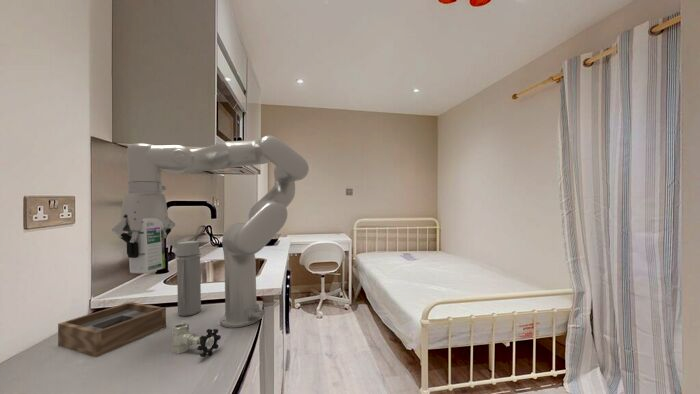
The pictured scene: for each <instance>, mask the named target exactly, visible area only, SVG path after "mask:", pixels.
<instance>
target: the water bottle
mask: <svg viewBox="0 0 700 394" xmlns="http://www.w3.org/2000/svg"><path fill="white" fill-rule="evenodd" d="M175 255H176V256H175V260H176V264H177V265H176V272H177V274H176V275H177V277H176V278H177V279H176V280H177V282H176V283H177V314H178V316H180V317H188V316H190V317H191V316H193V315H196V314H198V313H199V312H201V309H202V295H201V294H202V289H201V288H202V287H201V280H202V279H201V255H202V254H201V251H200V243H199V241H198V240H189V241H180V242H177V245H176V254H175Z"/></svg>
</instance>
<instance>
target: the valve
mask: <svg viewBox="0 0 700 394" xmlns="http://www.w3.org/2000/svg"><path fill="white" fill-rule="evenodd" d="M171 330H172V331H171V332H172V333H171V334H172V335H171V338H170V339H171V344H172V354H174V353H175V354H176V355H180V354H183V353H186V352H187V351H189V349H190V347H191V346H193V345H198V346H197V348H196V350H197V351H199V352H200V351H201V353H200V354H199V357H201V358H206V356H207V357H212V356H213V354H214V352H213V351H214V350H218V348H219V344H217V343H218V341H221V338H222V337H221V335H220V334H218V333H219V329H218V328H213V329H212V328H207V329H206V331H205V332H206V333H207V334H206V335H201V336H197V335H196V333H194V332H190V331H189V330H190V323H189V322H179V323H177V324H175V325H173V326H172V329H171ZM208 347H209V348H208ZM182 352H183V353H182Z"/></svg>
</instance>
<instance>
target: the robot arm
mask: <svg viewBox="0 0 700 394" xmlns="http://www.w3.org/2000/svg"><path fill="white" fill-rule="evenodd" d="M126 153H127V154H126V158H127V159H126V160H127V188H128V189H127V192H128V193H127V194H124V195H123V199H122V204H121V210H120V220H119V222H118V223H117V224H116V225H114V227H113V228H111V232H112V233H113V234H115V235H116V236H118V238H119V239H121V240H122V241H123V242H124V243H126V255H127V257H128V259H129V258H137V257H138V243H137V242H136V238H137V236H138V234H139V231H141V230H142V220H143V219H146V218H157V219H159V220H160V221H162V223H163V230H164V253H166V239H167V238H168V236H169V234H170V233H171V232H172V230H173V229H174V228H175V226H176V223H175V222H174V221H173V220H171V218H169V212H168V206H167V200H166V197H165V194H163V192H164V191H166V189H167V187H166V186H165V185H163V182H162V180H163V179H162V170H163V171H164V172H166V173H168V174H171V175H183V174H191V173H200V172H208V171H215V170H224V169H225V170H226V169H232V168H240V167H248V166H256V165H257V166H258V165H264V164H268V163H272V164H273V165H274V169H273V175H274V176H273V177H274V183H273V186H272V187H271V188H270V190H269V191H268V192H267V193H265V195H264V196H263V197H261V199H260V200H258V201H257V202H256V203H255V204H254V205H253V206H252V207H251V208H250V209H249V212H248V220H247V221H246V222H235V223H232V224H230V225H229V226H228V227H226V229H225V230H224V231H223V234H222V238H221V240H222V241H221V243H222V250H223V251H222V252H223V258H224V262H223V263H224V296H225V297H224V298H225V299H224V303H225V304H224V305H225V306H224V307H225V314H224V315H223V316H222V317H221V318H220V320H219V323H220V325H221V326H222V327H224V328H232V329H233V328H241V327H247V326H250V325H252V324H255V323H256V322H258V321H260V320H261V319H263V317H264V315H265V314H266V310H265V309H260V304H258V303H257V274H256V270H257V268H256V267H257V266H256V265H257V264H256V256H255V255H256V254H257V253H259V252H260V251H262V249H264V248H265V247H266V246H267V245H268V243H270V242H271V240H272V239H273V238H274V237H275V236H276V235H277V234H278V233H279V232H280V231H281V230H282V228H284V225H285V224H286V222H287V220H288V209H287V208H288V206H289V205H290V204H291V203H292V202H293V200H294V198H295V194H296V182H298V181H301V180H303V179H305V178H306V177H307V176H308V174H309V170H310V169H309V167H310V166H309V164H308V161H307V160H306V159H305V158H304V157H303V156H302V155H301V154H299V152H297V151H296V150H295V149H293V148H292V147H290V145H288V144H286V143H285V142H283V141H282V140H281V139H279V138H277V137H275V136H274V135H270V134H269V135H264V136H262V137H260V138H257V139H247V140H231V141H222V142H218V143H215V144H211V145H209V146H206V147H201V148H192V149H190V148H188V147H186V146H185V145H181V144H163V145H162V144H161V145H159V144H158V145H157V144H156V145H155V144H151V143H144V142H141V143H138V142H137V143H130V144H129V145H128V147H127V148H126ZM129 226H130V228H129ZM128 229H129V230H128Z"/></svg>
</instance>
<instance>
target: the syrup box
mask: <svg viewBox="0 0 700 394" xmlns="http://www.w3.org/2000/svg"><path fill="white" fill-rule="evenodd" d="M129 228H130V226H129ZM128 230H129V229H128ZM136 242H137V243H138V257H137V258H129V257H128V259H129V260H128V261H129V273H130V274H149V273H152V272H155V271H159V270H163V269H166V258H165V255H166V254H165V253H166V252H164V230H163V223H162V221H160V220H159V219H157V218H146V219H143V220H142V230H141V231H139V234H138V236H137V238H136Z"/></svg>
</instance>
